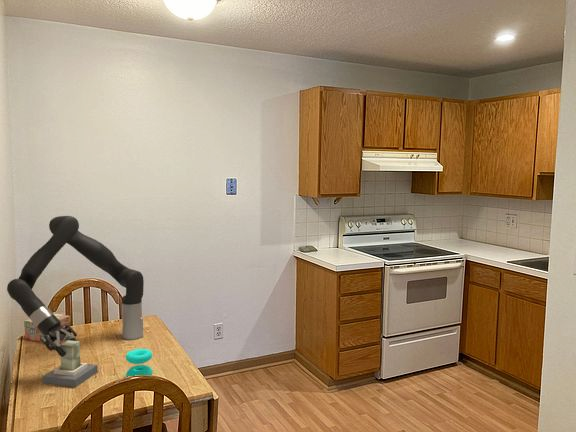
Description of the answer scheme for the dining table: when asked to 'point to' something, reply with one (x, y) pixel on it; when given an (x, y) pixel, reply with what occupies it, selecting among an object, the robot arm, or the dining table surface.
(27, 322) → the stack of blocks
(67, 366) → the pillar
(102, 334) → the dining table surface
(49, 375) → the plinth
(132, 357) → the donuts
